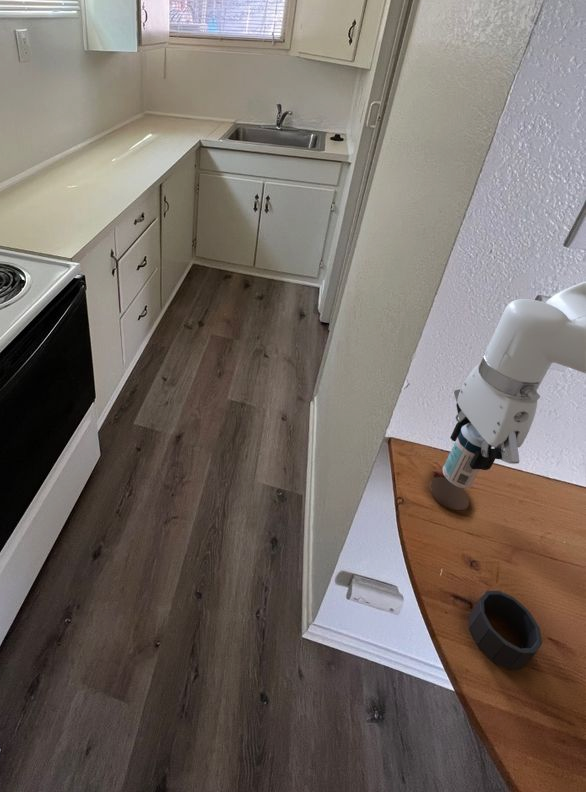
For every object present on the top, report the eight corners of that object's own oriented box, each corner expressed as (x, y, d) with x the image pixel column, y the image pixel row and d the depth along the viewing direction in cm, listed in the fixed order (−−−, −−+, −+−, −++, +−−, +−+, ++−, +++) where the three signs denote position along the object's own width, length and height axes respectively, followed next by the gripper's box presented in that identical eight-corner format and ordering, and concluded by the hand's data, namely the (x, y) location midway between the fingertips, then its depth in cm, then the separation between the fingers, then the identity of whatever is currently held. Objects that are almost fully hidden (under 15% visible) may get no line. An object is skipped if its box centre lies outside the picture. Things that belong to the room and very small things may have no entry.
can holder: (503, 607, 64) (516, 589, 62) (539, 669, 58) (555, 652, 56) (458, 608, 64) (469, 591, 62) (489, 670, 58) (503, 653, 55)
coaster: (454, 478, 83) (455, 476, 82) (475, 511, 77) (477, 509, 77) (422, 479, 82) (423, 477, 82) (441, 512, 77) (442, 510, 77)
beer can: (478, 484, 76) (503, 438, 71) (459, 494, 75) (483, 447, 69) (454, 462, 80) (476, 417, 75) (435, 470, 79) (456, 424, 73)
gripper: (578, 418, 59) (526, 500, 67) (494, 339, 74) (460, 414, 82) (525, 418, 58) (479, 501, 67) (452, 339, 73) (422, 414, 82)
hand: (469, 452), depth 74 cm, fingers closed on beer can, 4 cm apart
